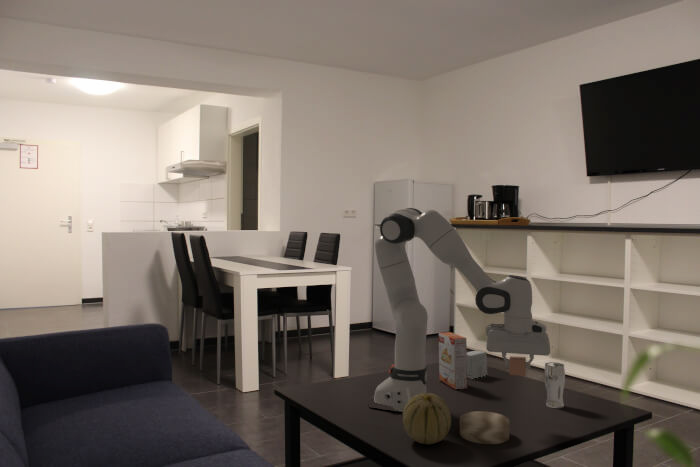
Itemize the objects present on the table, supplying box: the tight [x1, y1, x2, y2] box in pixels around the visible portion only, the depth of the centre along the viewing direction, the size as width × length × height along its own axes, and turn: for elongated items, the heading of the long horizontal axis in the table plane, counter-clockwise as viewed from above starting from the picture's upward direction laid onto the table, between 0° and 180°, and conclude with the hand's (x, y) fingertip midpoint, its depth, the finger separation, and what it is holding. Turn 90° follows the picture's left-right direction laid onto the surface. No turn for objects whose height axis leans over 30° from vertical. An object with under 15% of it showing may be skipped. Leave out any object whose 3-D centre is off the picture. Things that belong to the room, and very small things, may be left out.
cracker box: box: [438, 331, 468, 390], centre depth 230 cm, size 14×6×21 cm, turn 17°
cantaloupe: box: [402, 392, 452, 445], centre depth 168 cm, size 15×15×15 cm
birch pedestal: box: [459, 410, 510, 445], centre depth 173 cm, size 15×15×5 cm
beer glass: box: [544, 361, 566, 409], centre depth 201 cm, size 7×7×15 cm
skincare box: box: [467, 350, 488, 380], centre depth 244 cm, size 10×6×10 cm, turn 128°
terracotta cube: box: [509, 355, 527, 377], centre depth 184 cm, size 5×5×5 cm
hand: (517, 366), depth 183 cm, fingers closed on terracotta cube, 5 cm apart
